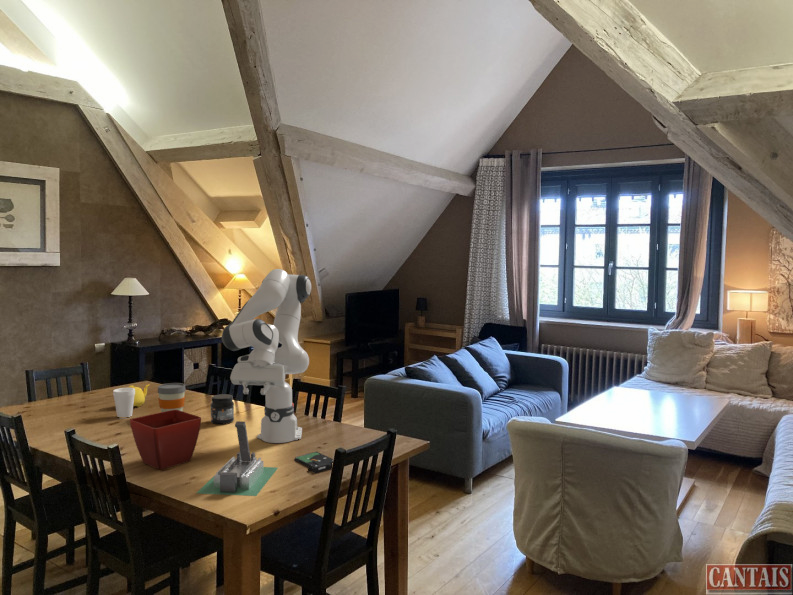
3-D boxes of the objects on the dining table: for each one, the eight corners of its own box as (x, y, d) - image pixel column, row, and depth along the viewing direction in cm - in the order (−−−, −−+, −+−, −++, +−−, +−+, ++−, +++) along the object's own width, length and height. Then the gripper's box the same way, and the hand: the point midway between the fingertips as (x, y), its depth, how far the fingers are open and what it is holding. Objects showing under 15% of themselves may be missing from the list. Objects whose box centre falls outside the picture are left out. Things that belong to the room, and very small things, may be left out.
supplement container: (213, 418, 288) (213, 393, 287) (236, 418, 289) (236, 393, 288) (207, 425, 278) (207, 399, 277) (231, 425, 278) (230, 399, 277)
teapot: (146, 401, 320) (145, 381, 319) (155, 405, 312) (154, 384, 311) (110, 407, 307) (110, 386, 306) (118, 411, 299) (118, 390, 298)
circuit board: (224, 468, 223) (224, 465, 223) (278, 470, 221) (278, 467, 221) (195, 496, 197) (195, 493, 197) (256, 498, 195) (256, 495, 195)
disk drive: (338, 468, 225) (316, 457, 236) (339, 461, 225) (316, 450, 236) (315, 475, 219) (293, 463, 230) (315, 467, 218) (293, 456, 229)
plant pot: (129, 462, 227) (128, 418, 226) (176, 450, 242) (175, 408, 241) (155, 475, 215) (154, 428, 214) (203, 461, 230) (202, 417, 229)
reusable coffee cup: (152, 417, 289) (151, 386, 288) (174, 411, 300) (173, 381, 299) (169, 421, 283) (169, 389, 282) (191, 415, 293) (191, 384, 292)
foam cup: (128, 413, 297) (128, 386, 296) (139, 416, 291) (138, 389, 290) (109, 417, 289) (109, 390, 288) (120, 420, 284) (119, 393, 283)
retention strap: (240, 463, 214) (242, 459, 216) (249, 464, 214) (250, 460, 216) (234, 424, 208) (236, 421, 210) (243, 425, 207) (245, 421, 209)
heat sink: (230, 470, 217) (230, 451, 217) (263, 472, 216) (263, 452, 216) (209, 492, 198) (209, 471, 197) (245, 493, 197) (245, 472, 197)
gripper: (290, 367, 234) (283, 399, 225) (238, 366, 236) (229, 397, 227) (287, 358, 229) (280, 389, 220) (234, 357, 231) (225, 388, 222)
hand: (254, 393), depth 223 cm, fingers open, 5 cm apart
